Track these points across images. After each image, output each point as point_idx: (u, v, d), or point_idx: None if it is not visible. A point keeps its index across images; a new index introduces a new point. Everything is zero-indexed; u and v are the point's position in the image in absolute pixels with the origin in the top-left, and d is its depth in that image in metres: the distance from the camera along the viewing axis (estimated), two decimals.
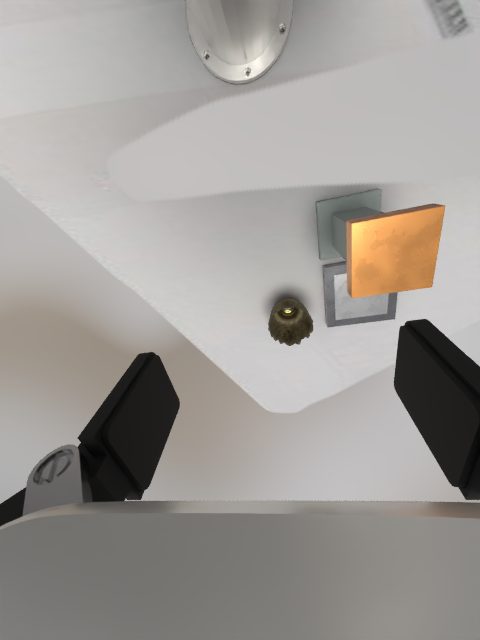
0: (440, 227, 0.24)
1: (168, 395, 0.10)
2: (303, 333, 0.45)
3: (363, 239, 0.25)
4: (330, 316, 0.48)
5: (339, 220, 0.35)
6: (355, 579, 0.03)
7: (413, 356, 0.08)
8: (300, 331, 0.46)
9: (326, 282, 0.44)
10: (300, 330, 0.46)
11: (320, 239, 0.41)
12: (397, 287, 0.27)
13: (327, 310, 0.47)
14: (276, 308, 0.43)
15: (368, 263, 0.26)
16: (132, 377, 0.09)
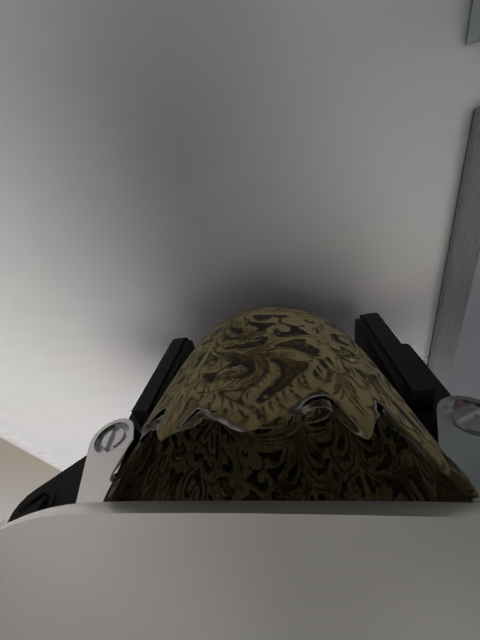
0: None
1: None
2: None
3: None
4: (464, 385, 0.11)
5: None
6: (355, 579, 0.03)
7: (363, 346, 0.09)
8: (336, 482, 0.09)
9: None
10: (335, 473, 0.09)
11: None
12: None
13: (456, 360, 0.10)
14: (176, 383, 0.06)
15: None
16: (172, 359, 0.09)
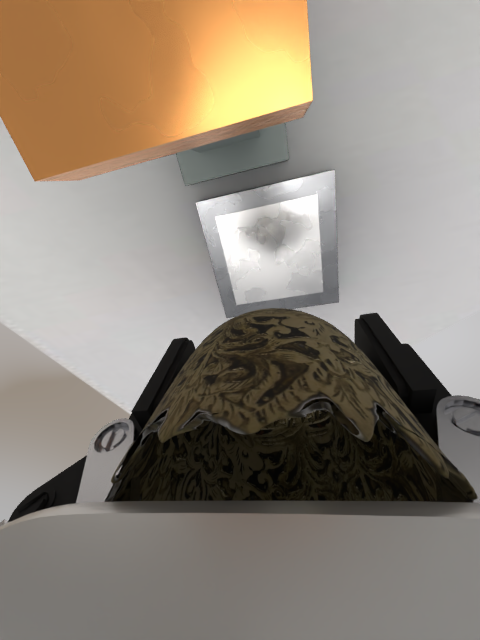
0: None
1: None
2: None
3: None
4: (227, 298, 0.27)
5: None
6: (355, 579, 0.03)
7: (363, 346, 0.09)
8: (336, 482, 0.09)
9: (205, 232, 0.24)
10: (335, 474, 0.09)
11: None
12: (172, 113, 0.06)
13: (220, 287, 0.27)
14: (176, 385, 0.06)
15: None
16: (173, 359, 0.09)
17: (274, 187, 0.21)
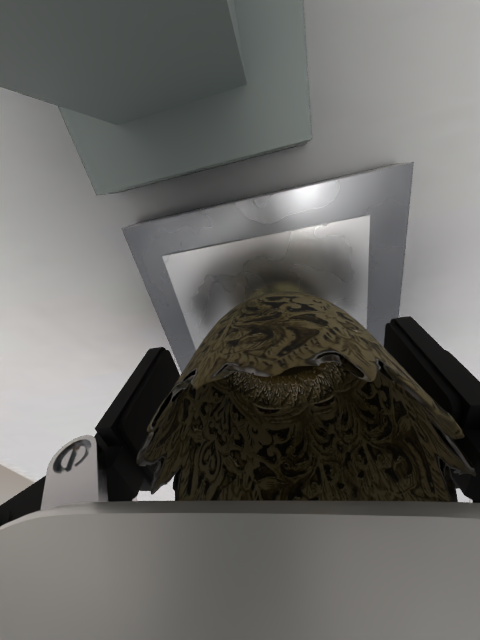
0: None
1: None
2: (364, 477, 0.08)
3: None
4: None
5: None
6: (355, 580, 0.03)
7: (397, 352, 0.08)
8: (340, 453, 0.09)
9: (148, 282, 0.13)
10: (339, 446, 0.09)
11: None
12: None
13: (183, 368, 0.15)
14: (200, 353, 0.07)
15: None
16: (145, 371, 0.09)
17: (279, 199, 0.10)
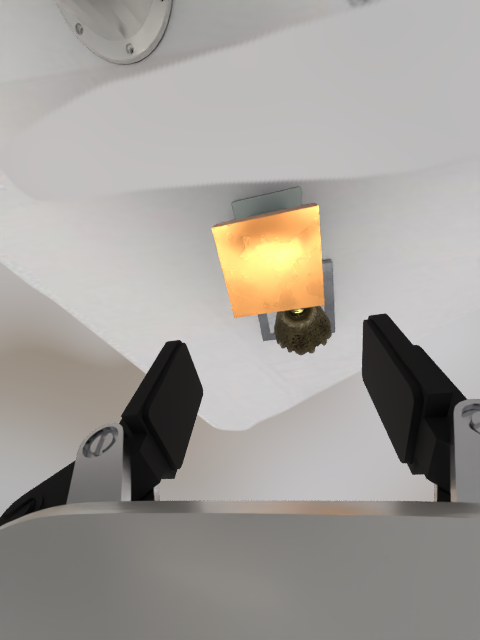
0: (318, 232, 0.19)
1: (194, 381, 0.11)
2: (318, 338, 0.35)
3: (230, 247, 0.20)
4: (264, 329, 0.43)
5: None
6: (355, 579, 0.03)
7: (372, 347, 0.09)
8: (313, 336, 0.36)
9: None
10: (313, 335, 0.36)
11: None
12: (284, 305, 0.22)
13: (260, 322, 0.42)
14: None
15: (243, 277, 0.21)
16: (164, 362, 0.09)
17: None
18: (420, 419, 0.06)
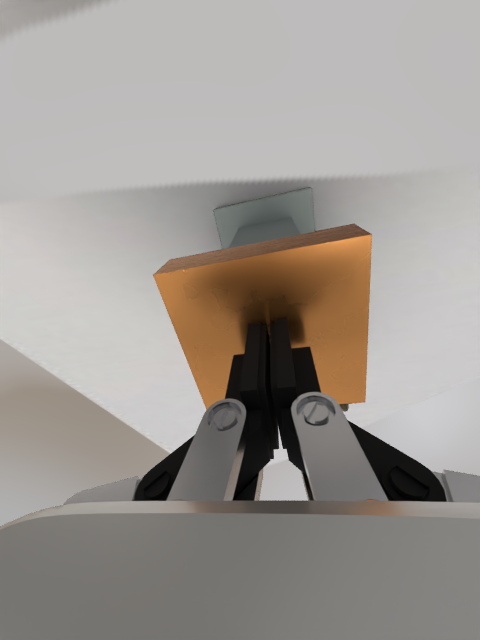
0: (366, 287, 0.09)
1: None
2: None
3: (191, 308, 0.10)
4: None
5: None
6: (355, 580, 0.03)
7: None
8: None
9: None
10: None
11: None
12: None
13: None
14: None
15: (219, 356, 0.12)
16: (258, 342, 0.09)
17: None
18: None
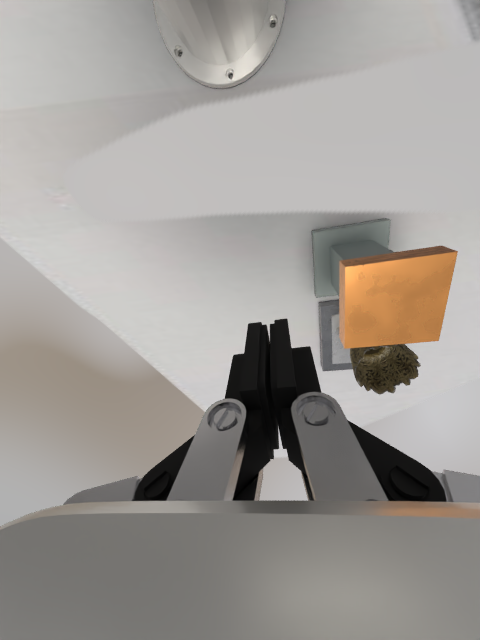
0: (451, 275, 0.20)
1: None
2: (397, 377, 0.33)
3: (358, 284, 0.21)
4: (326, 359, 0.41)
5: (339, 257, 0.28)
6: (355, 579, 0.03)
7: None
8: (390, 373, 0.34)
9: (322, 322, 0.38)
10: (389, 372, 0.35)
11: (316, 274, 0.34)
12: (398, 339, 0.23)
13: (323, 353, 0.40)
14: None
15: (363, 312, 0.22)
16: (258, 342, 0.09)
17: None
18: None
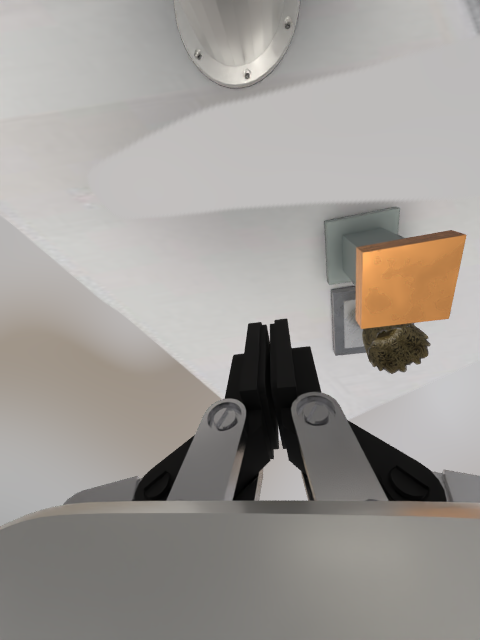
0: (460, 257, 0.22)
1: None
2: (408, 357, 0.35)
3: (375, 268, 0.23)
4: (338, 344, 0.43)
5: (353, 245, 0.30)
6: (355, 579, 0.03)
7: None
8: (401, 354, 0.36)
9: (335, 308, 0.40)
10: (400, 353, 0.37)
11: (329, 262, 0.36)
12: (411, 318, 0.25)
13: (335, 338, 0.43)
14: (379, 327, 0.34)
15: (379, 294, 0.24)
16: (258, 342, 0.09)
17: None
18: None
